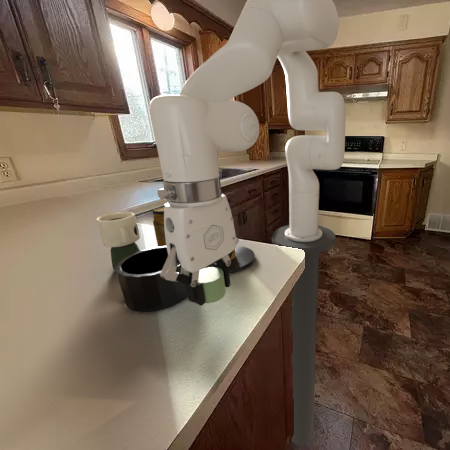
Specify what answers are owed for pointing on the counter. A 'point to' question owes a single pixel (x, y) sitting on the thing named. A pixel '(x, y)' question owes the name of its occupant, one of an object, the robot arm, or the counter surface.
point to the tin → (148, 281)
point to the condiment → (159, 226)
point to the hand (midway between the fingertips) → (210, 292)
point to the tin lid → (239, 258)
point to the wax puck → (212, 283)
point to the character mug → (119, 234)
